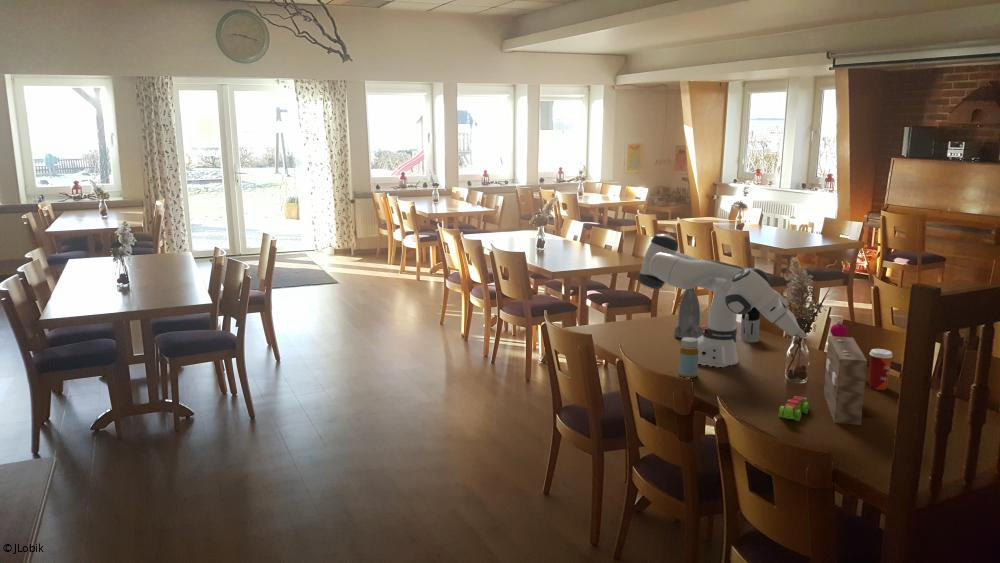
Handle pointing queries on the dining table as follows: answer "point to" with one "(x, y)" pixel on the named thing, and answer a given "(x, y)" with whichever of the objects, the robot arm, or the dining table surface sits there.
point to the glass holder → (750, 326)
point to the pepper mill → (838, 330)
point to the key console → (845, 380)
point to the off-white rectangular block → (834, 378)
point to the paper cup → (879, 368)
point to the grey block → (828, 365)
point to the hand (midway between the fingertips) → (803, 336)
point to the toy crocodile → (794, 408)
